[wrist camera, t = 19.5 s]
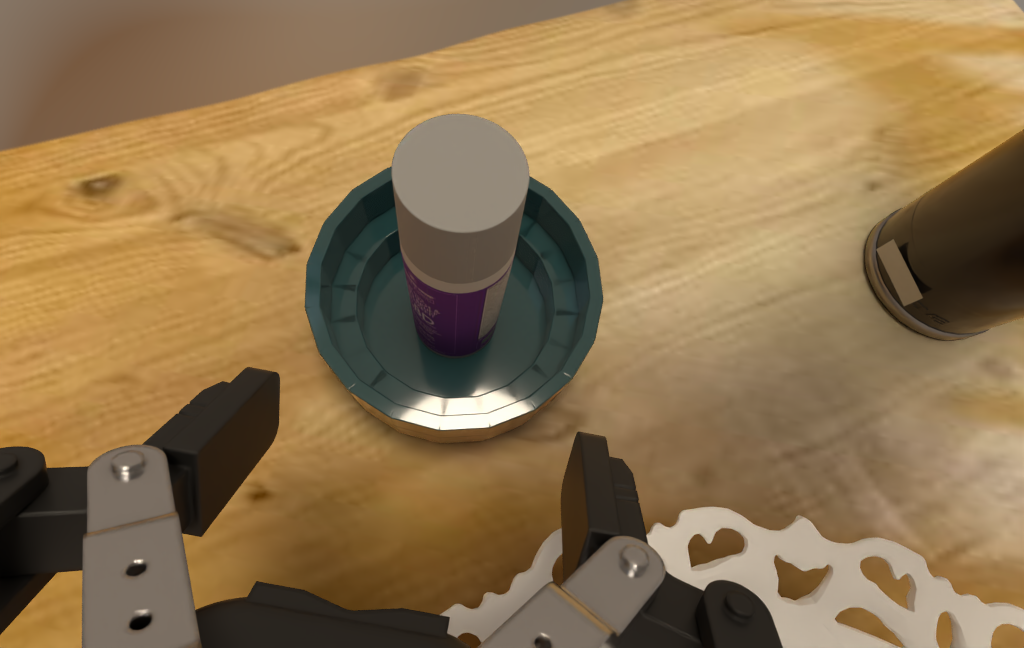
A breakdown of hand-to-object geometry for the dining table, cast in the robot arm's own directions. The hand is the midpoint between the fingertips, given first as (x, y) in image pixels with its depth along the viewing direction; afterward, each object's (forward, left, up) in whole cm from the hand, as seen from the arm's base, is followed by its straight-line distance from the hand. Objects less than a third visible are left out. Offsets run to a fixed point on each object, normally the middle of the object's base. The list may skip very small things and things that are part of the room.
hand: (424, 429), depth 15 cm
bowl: (-6, -6, -16) cm, 18 cm away
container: (-6, -6, -16) cm, 18 cm away
